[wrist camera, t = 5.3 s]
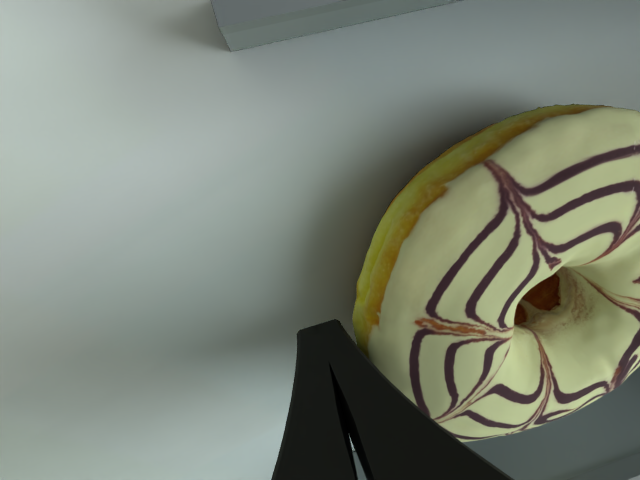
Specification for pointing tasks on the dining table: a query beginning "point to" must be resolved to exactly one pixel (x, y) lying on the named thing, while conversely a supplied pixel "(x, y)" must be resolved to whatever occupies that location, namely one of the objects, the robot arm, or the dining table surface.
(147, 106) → the dining table surface
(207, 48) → the dining table surface
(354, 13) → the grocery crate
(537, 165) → the decorated donut
